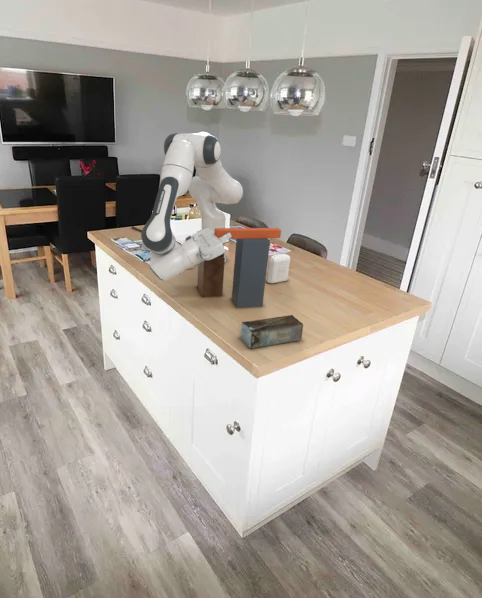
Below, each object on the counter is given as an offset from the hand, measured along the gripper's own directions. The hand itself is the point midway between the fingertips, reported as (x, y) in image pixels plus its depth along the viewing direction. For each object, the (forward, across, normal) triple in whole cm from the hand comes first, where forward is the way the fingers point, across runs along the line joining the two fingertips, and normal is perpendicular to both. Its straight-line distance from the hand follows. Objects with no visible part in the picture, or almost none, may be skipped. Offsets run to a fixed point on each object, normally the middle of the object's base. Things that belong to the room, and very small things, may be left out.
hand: (228, 232), depth 147 cm
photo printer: (+11, +20, +39) cm, 45 cm away
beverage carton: (-7, -28, +29) cm, 41 cm away
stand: (-6, 0, +29) cm, 29 cm away
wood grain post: (-16, +12, +23) cm, 31 cm away
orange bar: (+5, 0, +5) cm, 7 cm away
